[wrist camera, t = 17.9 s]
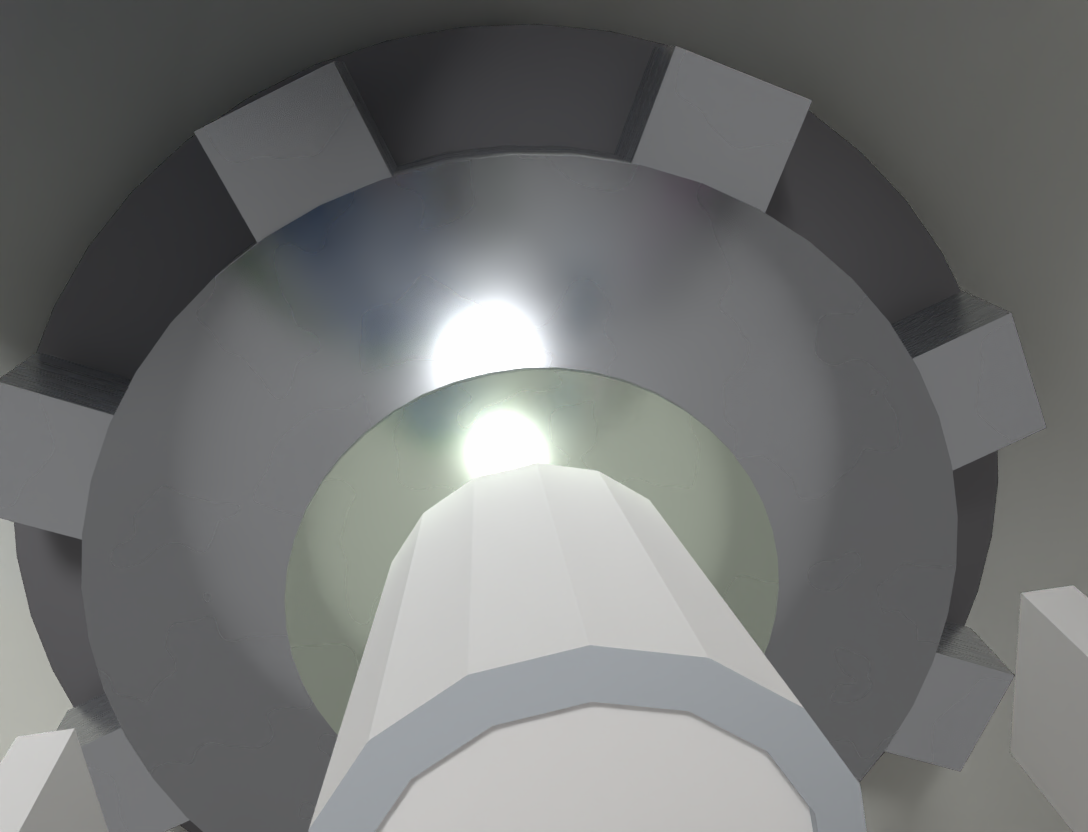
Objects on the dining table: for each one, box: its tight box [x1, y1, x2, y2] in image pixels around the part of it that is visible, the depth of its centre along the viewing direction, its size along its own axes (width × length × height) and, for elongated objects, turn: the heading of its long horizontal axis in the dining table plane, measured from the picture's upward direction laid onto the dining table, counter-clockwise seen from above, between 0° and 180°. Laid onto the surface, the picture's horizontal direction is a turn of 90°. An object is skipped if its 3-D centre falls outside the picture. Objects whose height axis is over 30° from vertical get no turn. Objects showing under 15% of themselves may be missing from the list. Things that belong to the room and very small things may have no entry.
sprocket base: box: [14, 24, 998, 832], centre depth 21 cm, size 20×20×1 cm
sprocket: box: [0, 46, 1046, 832], centre depth 16 cm, size 20×20×9 cm
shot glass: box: [308, 463, 867, 832], centre depth 15 cm, size 7×7×7 cm
